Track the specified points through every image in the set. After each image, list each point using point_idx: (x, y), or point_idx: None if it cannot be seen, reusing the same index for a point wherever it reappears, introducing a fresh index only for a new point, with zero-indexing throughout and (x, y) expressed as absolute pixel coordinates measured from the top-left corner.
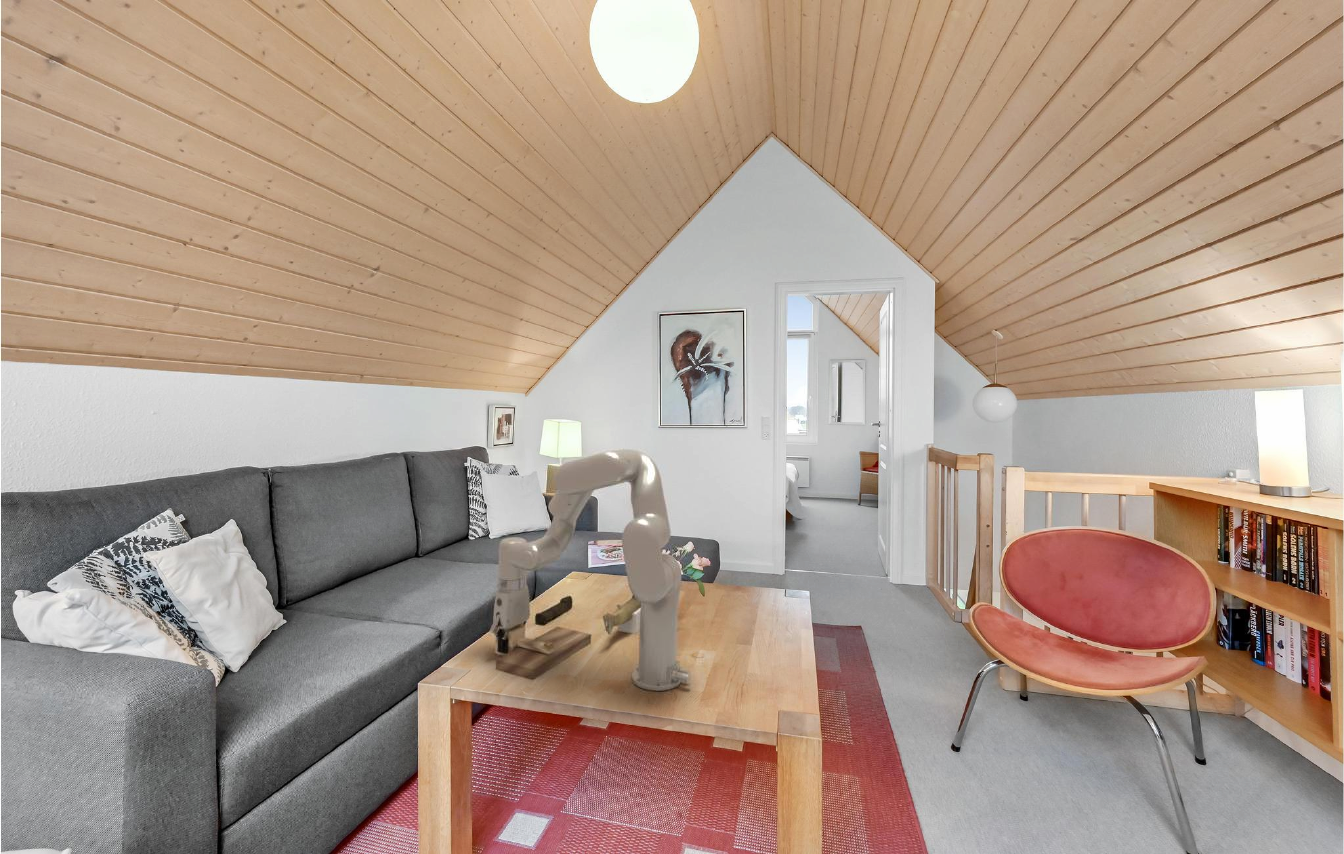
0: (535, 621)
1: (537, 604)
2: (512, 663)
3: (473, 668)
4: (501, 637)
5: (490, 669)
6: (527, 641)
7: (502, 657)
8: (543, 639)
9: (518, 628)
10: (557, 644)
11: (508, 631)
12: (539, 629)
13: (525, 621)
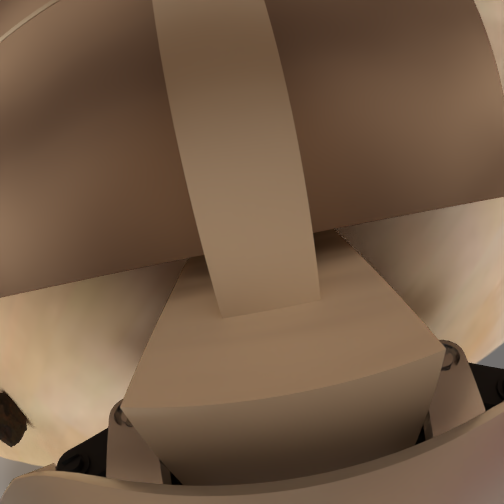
0: (25, 426)
1: (15, 460)
2: (490, 53)
3: (498, 278)
4: (469, 363)
5: (485, 204)
6: (278, 111)
7: (485, 182)
8: (30, 214)
9: (259, 424)
10: (27, 50)
11: (427, 408)
12: (22, 386)
13: (73, 463)
